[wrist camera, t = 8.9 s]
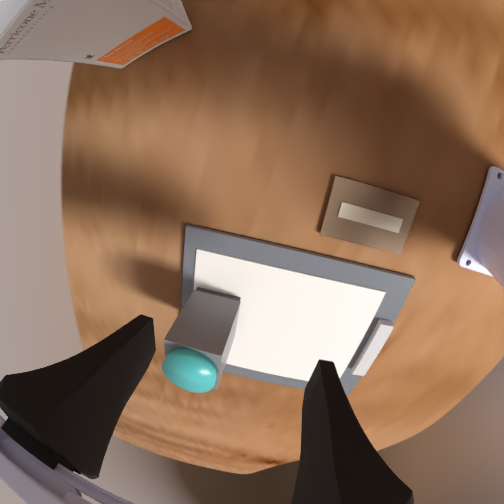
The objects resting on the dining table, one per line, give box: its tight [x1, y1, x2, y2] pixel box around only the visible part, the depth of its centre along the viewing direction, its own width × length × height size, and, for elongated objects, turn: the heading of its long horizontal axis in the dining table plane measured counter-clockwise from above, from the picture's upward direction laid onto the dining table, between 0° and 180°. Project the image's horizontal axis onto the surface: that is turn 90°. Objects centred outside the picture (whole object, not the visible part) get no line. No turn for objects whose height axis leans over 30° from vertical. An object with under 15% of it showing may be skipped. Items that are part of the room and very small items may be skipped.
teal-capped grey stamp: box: [162, 287, 241, 393], centre depth 19 cm, size 4×4×7 cm
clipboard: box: [181, 224, 416, 395], centre depth 22 cm, size 17×14×1 cm
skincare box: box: [0, 0, 192, 69], centre depth 9 cm, size 6×4×12 cm
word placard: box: [320, 175, 420, 255], centre depth 18 cm, size 6×4×1 cm, turn 80°
